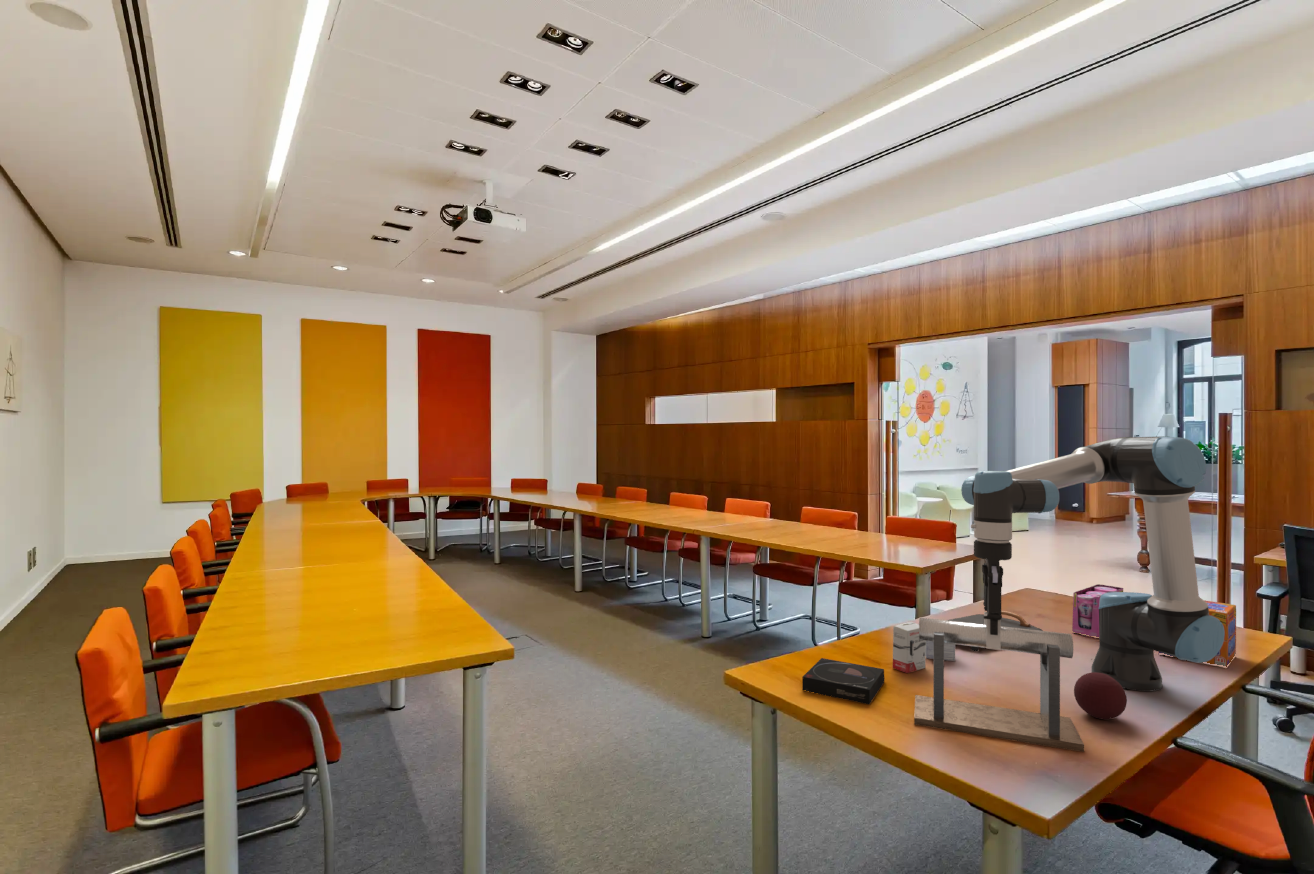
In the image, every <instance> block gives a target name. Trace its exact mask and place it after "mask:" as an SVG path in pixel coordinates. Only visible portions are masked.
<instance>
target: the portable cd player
mask: <svg viewBox="0 0 1314 874" xmlns="http://www.w3.org/2000/svg"><path fill="white" fill-rule="evenodd" d="M884 684H885V669H884V668H881V667H880V668H879V667H873V666H869V665H864V664H863V665H862V664H858V663H857V664H856V663H851V662H846V661H840V660H834V659H829V658H825V657H824V658H823V657H821V658H820V659H819V660H818V661H817V662H816V663H814V665H813V666H812V667H810V668H809V670H808V671H807V672H805V674H804V675H803V676H802V683H801V685H802V687H801V689H802V690H806V691H809V692H808V693H811V692H814V693H813V694H816V693H818V694H817V695H820V694H821V695H822V696H825V695H826V697H830V696H831V698H836V699H840V700H846V701H850V702H855V703H859V704H863V705H871V703H872V702H873V700H874V699H875V697H876V695H877V694H878V692H879V691H880V689H881V688H882V686H883V685H884ZM806 691H805V692H806Z"/></svg>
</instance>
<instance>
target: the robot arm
mask: <svg viewBox="0 0 1314 874" xmlns="http://www.w3.org/2000/svg"><path fill="white" fill-rule="evenodd" d="M1072 451H1073V452H1072V453H1071V454H1067V455H1062V456H1058V457H1056V458H1051V459H1048V460H1044V461H1041V462H1036V463H1032V464H1028V465H1024V466H1021V467H1020V466H1019V467H1016V468H1013V469H1009V470H1004V471H1003V470H979V471H977V472H976V473H975V474H974V475H972V476H968V477H967V478H965V480H963V483H962V484H961V489H960V491H961V495H962V499H963V501H964V502H966V503H967V504H968V505H970V506H973V521H974V523H973V524H971V525H970V528H971V529H974V530H973V537H974V538H975V539H974V541H973V556H974V557H976V558H978V559H982V560H985V563H983V564H981V572H982V582H983V602H982V603H983V604H982V605H983V610H984V612H983V614H984V624H985V625H986V649H989V650H994V651H995V650H996V651H1001V650H1000V632H1001V620H1000V619H1002V617H1003V615H1002V614H1001V611H1002V588H1003V576H1004V568H1003V567H1002V566H1001V565H1000V561H1010V560H1011V559H1012V557H1013V556H1012V555H1013V554H1012V553H1013V552H1012V551H1013V545H1012V543H1011V542H1010V541H1012V540H1013V514H1022V513H1023V514H1031V513H1032V514H1036V513H1037V514H1041V513H1048V512H1049V513H1050V512H1053V510H1055V509H1056V508H1057V507H1058V505H1059V503H1060V491H1059V489H1063V488H1066V487H1070V486H1074V485H1077V484H1081V483H1085V484H1087V485H1088V484H1089V485H1091V484H1096V483H1100V482H1109V483H1110V482H1111V483H1113V482H1114V483H1116V482H1117V483H1126V484H1133V492H1134V494H1135V495H1136V496H1138V497H1139V498H1140V499H1141V500H1142V502H1143V511H1144V519H1145V528H1146V529H1145V530H1146V538H1147V545H1148V546H1147V547H1148V555H1149V562H1150V573H1151V581H1152V590H1153V594H1150V593H1142V592H1135V591H1133V592H1130V591H1123V592H1109V593H1104V594H1102V595H1101V596H1100V603H1099V608H1098V609H1099V641H1098V643H1099V646H1098V649H1097V652H1096V654H1095V657H1094V659H1093V661H1092V664H1091V667H1090V668H1091V670H1090V671H1091V672H1090V673H1092V672H1098V673H1103V674H1106V675H1109V676H1110V677H1112V678H1114V679H1115V680H1116V681H1117V682H1119V684H1120V685H1121V686H1122V688H1123V689H1125V688H1127V690H1131V689H1132V690H1131V691H1139V690H1141V691H1142V692H1153V691H1154V692H1155V691H1159V690H1161V689H1162V688H1163V677H1162V674H1161V672H1160V669H1159V666H1158V664H1157V660H1156V658H1155V654H1154V652H1155V651H1156V652H1158V653H1159V652H1161V653H1164V654H1167V655H1170V656H1173V657H1177V658H1178V659H1177V658H1176V659H1177V660H1181V661H1186V660H1187V661H1186V662H1190V663H1191V662H1192V663H1197V664H1201V663H1203V662H1207V661H1209V660H1211V659H1212V658H1213V657H1215V656H1216V655H1217V653H1218V652H1219V650H1220V649H1221V647H1222V645H1223V642H1224V636H1225V631H1224V627H1223V624H1222V623H1221V622H1220V620H1219V619H1217V618H1215V617H1213V616H1210V615H1209V609H1208V604H1207V602H1205V601H1206V600H1205V601H1204V599H1203V598H1201V597H1200V595H1199V585H1198V577H1197V568H1196V567H1197V566H1196V560H1195V550H1194V543H1193V534H1192V523H1191V517H1190V515H1191V513H1190V506H1189V498H1190V497H1191V496H1192V495H1193V494H1195V493H1196V488H1195V487H1196V486H1197V485H1199V484H1201V483H1202V482H1203V480H1204V479H1205V477H1204V475H1205V474H1206V471H1207V462H1206V460H1205V456H1204V454H1203V452H1202V450H1201V449H1200V447H1199V446H1198V445H1197V444H1195V443H1194V442H1193V441H1192V440H1190V439H1188V438H1186V437H1185V438H1184V437H1179V436H1178V437H1177V436H1176V437H1175V436H1167V435H1165V436H1162V435H1161V436H1133V437H1132V436H1125V437H1124V436H1122V437H1116V438H1111V439H1107V440H1103V441H1100V442H1095V443H1092V444H1090V445H1089V444H1088V445H1086V446H1085V445H1084V446H1081V447H1078V448H1076V449H1075V450H1072Z"/></svg>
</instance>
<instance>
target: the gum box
mask: <svg viewBox="0 0 1314 874" xmlns="http://www.w3.org/2000/svg"><path fill="white" fill-rule="evenodd" d="M1109 592H1124V588H1123V587H1120V586H1119V587H1118V586H1113V585H1106V584H1095V585H1091V586H1090V587H1086V588H1082V589H1080V590H1077V591H1074V592H1073V594H1072V595H1073V597H1072V599H1073V601H1072V627H1071V628H1072V631H1073V632H1075V633H1081V634H1086V635H1089V636H1096V637H1099V609H1098V608H1099V603H1100V596H1101V595H1102V594H1104V593H1109Z"/></svg>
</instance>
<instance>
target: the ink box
mask: <svg viewBox="0 0 1314 874" xmlns="http://www.w3.org/2000/svg"><path fill="white" fill-rule="evenodd" d="M892 631H893V633H892V634H893V635H892V669H895V670H897V671H900V672H903V673H906V674H909V673H912V672H916V671H920V670H922V669H925V668H926V640H919V623H916V622H913V621H908V622H904V623H901V624H900V623H899V624H895V625H894V626H893V629H892Z"/></svg>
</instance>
